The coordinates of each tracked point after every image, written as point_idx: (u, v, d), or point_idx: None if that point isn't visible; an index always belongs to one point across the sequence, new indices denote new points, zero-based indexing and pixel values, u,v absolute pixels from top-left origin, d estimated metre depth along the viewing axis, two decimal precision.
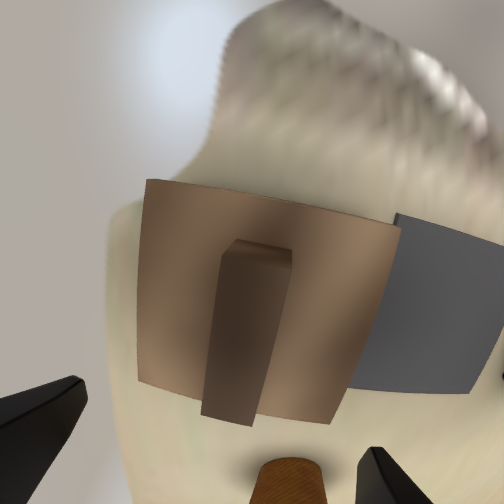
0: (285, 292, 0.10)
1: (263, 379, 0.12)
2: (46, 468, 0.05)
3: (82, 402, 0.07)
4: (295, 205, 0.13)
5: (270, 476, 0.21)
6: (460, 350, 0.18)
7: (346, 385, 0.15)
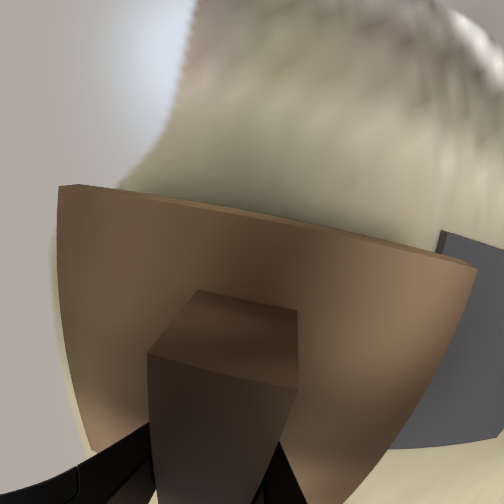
0: (282, 424, 0.04)
1: None
2: None
3: None
4: (305, 230, 0.07)
5: None
6: (496, 396, 0.12)
7: (365, 475, 0.09)
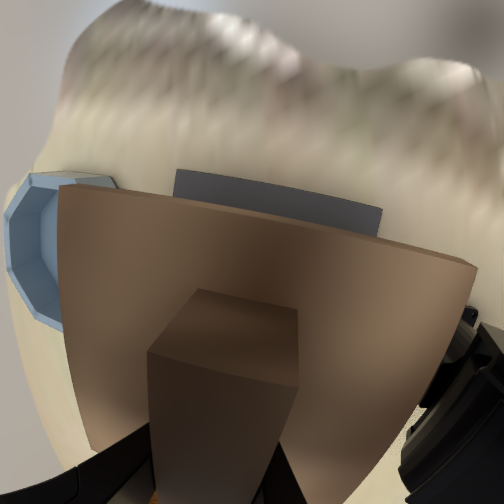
0: (282, 422, 0.04)
1: None
2: None
3: None
4: (305, 229, 0.07)
5: None
6: None
7: (365, 474, 0.09)
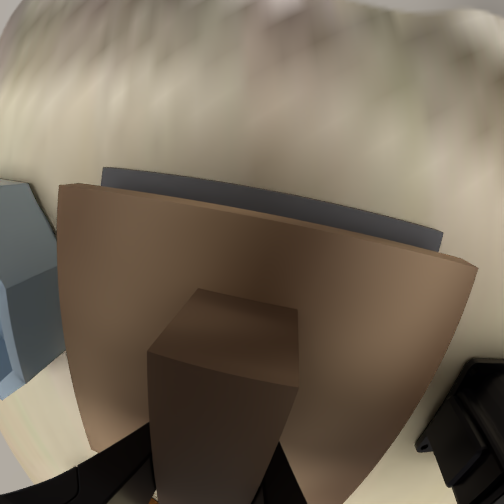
0: (283, 422, 0.04)
1: None
2: None
3: None
4: (305, 229, 0.07)
5: None
6: None
7: (366, 474, 0.09)
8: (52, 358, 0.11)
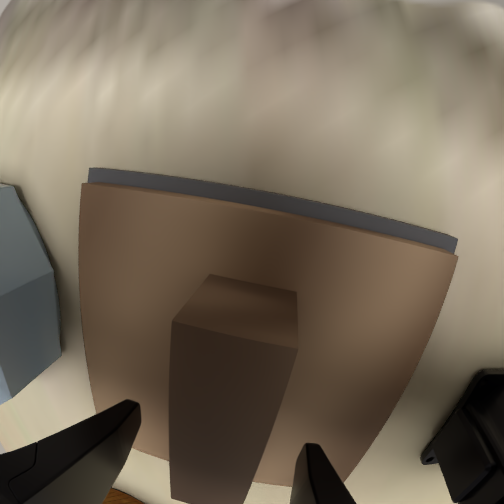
0: (285, 382, 0.06)
1: (251, 478, 0.07)
2: (102, 500, 0.05)
3: (137, 426, 0.07)
4: (302, 222, 0.08)
5: None
6: None
7: (362, 453, 0.10)
8: (40, 371, 0.10)
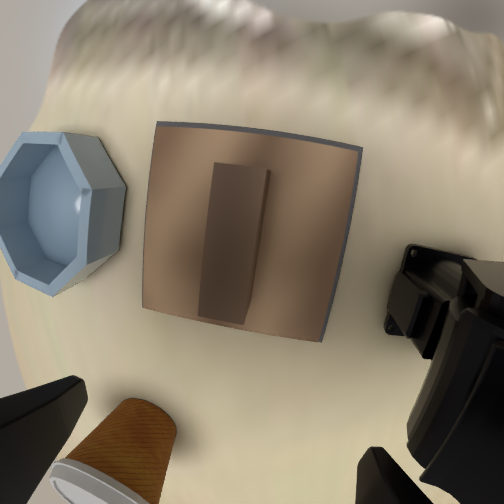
0: (262, 186, 0.14)
1: (250, 269, 0.15)
2: (46, 468, 0.05)
3: (82, 402, 0.07)
4: (271, 136, 0.16)
5: (112, 412, 0.22)
6: None
7: (328, 296, 0.18)
8: (105, 254, 0.18)
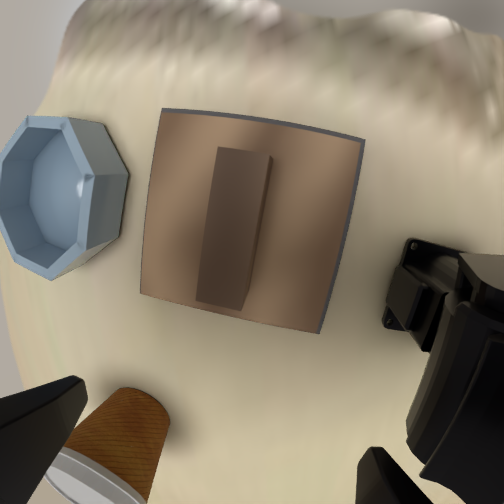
0: (265, 171, 0.14)
1: (250, 254, 0.15)
2: (46, 468, 0.05)
3: (82, 402, 0.07)
4: (274, 125, 0.16)
5: (105, 401, 0.22)
6: None
7: (327, 286, 0.18)
8: (105, 240, 0.18)
